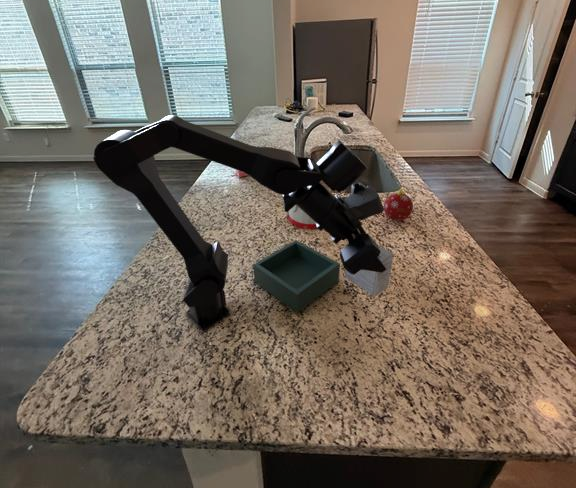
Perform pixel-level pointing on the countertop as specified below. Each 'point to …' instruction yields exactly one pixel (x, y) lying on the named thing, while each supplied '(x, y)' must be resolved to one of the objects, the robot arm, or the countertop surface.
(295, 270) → the open square tray
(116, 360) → the countertop surface
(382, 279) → the medicine box
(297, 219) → the white chicken figure
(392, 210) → the christmas ornament
